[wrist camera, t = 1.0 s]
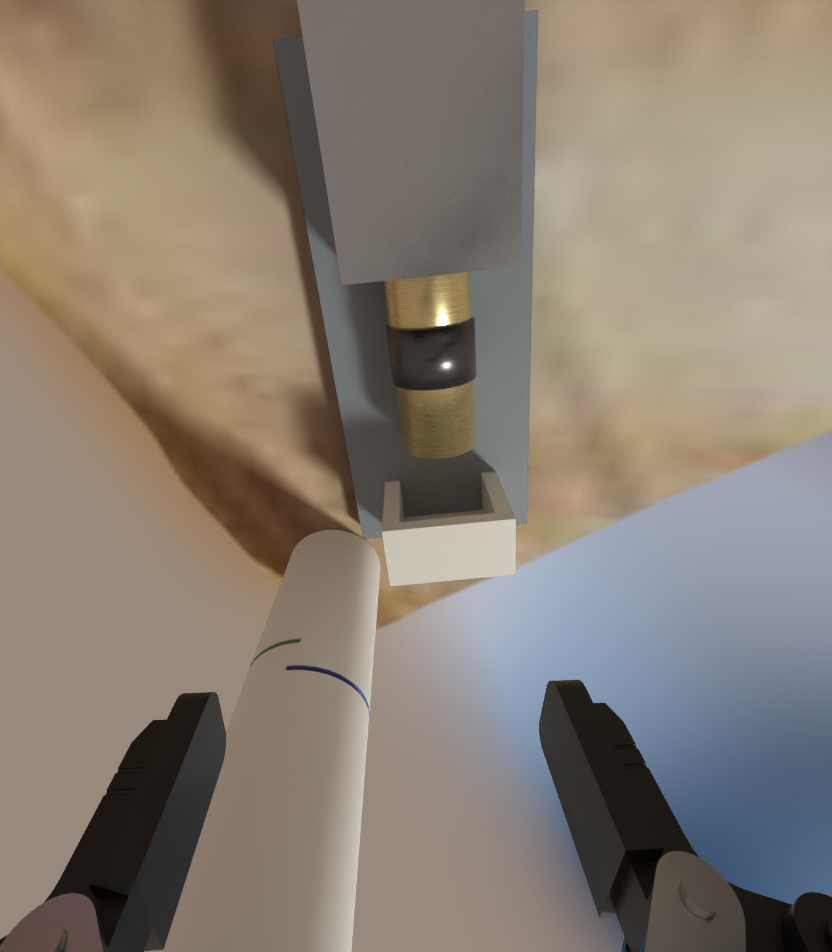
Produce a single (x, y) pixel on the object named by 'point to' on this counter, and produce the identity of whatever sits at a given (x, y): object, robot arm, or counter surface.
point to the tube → (433, 363)
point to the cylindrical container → (292, 769)
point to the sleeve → (419, 132)
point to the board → (366, 344)
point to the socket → (449, 539)
